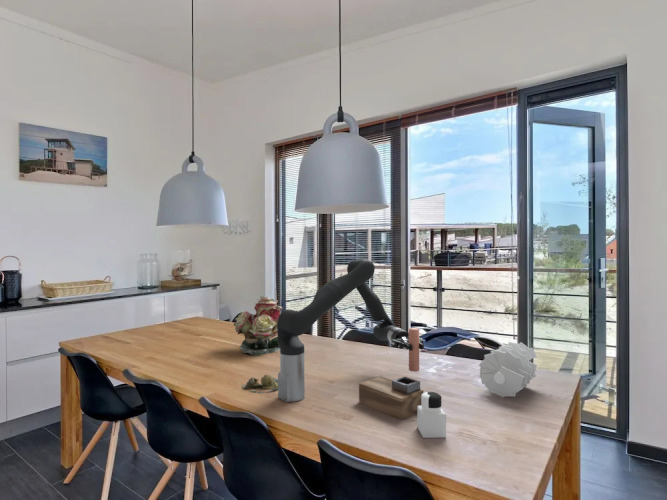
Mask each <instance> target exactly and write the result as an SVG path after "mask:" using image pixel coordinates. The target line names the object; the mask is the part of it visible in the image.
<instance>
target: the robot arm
mask: <svg viewBox="0 0 667 500" xmlns="http://www.w3.org/2000/svg"><path fill="white" fill-rule="evenodd" d="M375 270H376V267H375V264H374V263H373V261H371V260H370V259H365V258H364V259H354V260H351V261H349V263H348V264H347V267H346V272H347V273H346V274H344V275H341V276H339V277H336V278H334V279H331V280H330V281H327V282H326V283H325V284H324V285H323V286H321V287H320V288H319V289H317V291H316V293H315V294H314V298H312V299H313V300H312V301H311V302H310V303H309V304H308V305H306V307H303V308H301V309H300V310H295V309H283V311H282V310H281V311H280V315H279V317H278V322H277V333H278V335H277V336H278V345H279V347H280V351H279V352H280V353H279V354H280V355H279V359H280V360H279V361H280V362H279V366H280V367H279V372H278V374H277V379H278V389H277V397H278V399H280V400H282V401H284V402H285V403H290V402H299V401H302V400H303V399H305V392H306V391H305V389H306V388H305V381H306V380H305V345H304V343H303V342H302V341H301V340H300V337H299V336H302V335H304V334H305V333H306V332H307V331H308V330H309V329H310V328H311V327H312V326H313V325H314V324H315V323H316V322H317V321H318V320H319V319H320V318H321V317H322V316H324V315H325V314H326V313H327V312H329V310H331V309H332V308H333V307H335V306H336V305H337V304H339V303H340V302H341V301H342V300H343V299H344V298H346V297H347V296H348V295H349V294H351V293H352V291H354V290H355V289H356V290H357V291H358V293H359V295H360V296H361V299H362V300H363V302H364V305H365V306H366V308H367V310H368V313H369V316H370V317H371V319H372V321H373V322H380V323H378V324H376V325H375V326H374V327H373V329H372V330H373V331H372V332H373V335H374V337H375V338H376V339H377V340H378V341H383V342H389V343H391V344H390V345H391V347H394V348H397V349H400V350H401V349H402V350H404V349H405V350H406V349H407V350H408V351H409V350H410V351H412V350H413V346H412V344H410V343H409V331H406V330H404V329H403V328H400V327H398V326H396V324H395V323H394V322H393V320H392V319H391V318H390V316H389V315H388V314H387V312H386V310H385V308H384V305H383V302H382V301H381V299H380V297H379V296H378V295H377V294H376V293H375V292H374V291H373V290H372V288H371V287H370V286H369V285H368V283H367V281H369V280H370V279H371V278H372V277H373V276H374V274H375ZM424 348H425V344H424V339H423V337H420V336H419V350H421V351H422V350H425V349H424Z"/></svg>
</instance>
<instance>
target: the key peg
mask: <svg viewBox="0 0 667 500" xmlns="http://www.w3.org/2000/svg"><path fill="white" fill-rule="evenodd" d="M408 333H409V343H410V344H412V346H413V350H412V351H410V350H408V371H410V372H414V373H415V372H419V371H420V349H419V338H420V329H419V328H418V327H411V328H410V327H409V328H408Z"/></svg>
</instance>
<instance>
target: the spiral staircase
mask: <svg viewBox="0 0 667 500" xmlns="http://www.w3.org/2000/svg"><path fill="white" fill-rule="evenodd" d="M534 358H538V356H537V355H536V352H535V350H534V348H533V347H528V346H527V344H524V343H523V342H522V341H520V342H519V343H517V342H511V341H508V343H507V344H505V345H503V344H502V346H498V349H494V350H490V353H487V354H484V355H483V360H481V362H480V363H479V365H478V366H479V367H480V370H479V378H480V381H481V384H482V385H484V386H485V387H486V389H487V390H488V391H489V392H490V394H495V395H497V396H499V397H501V398H503V399H505V397H516V394H517V393H520V391H522V390H523V389H524V388H527V387H528V384H530V383H531V381H532V380H533V379H534V378H536V377H537V374H536V373H535V372H536V368H537V366H538V364H536V363H534V362H531V361H530V360H533V359H534Z"/></svg>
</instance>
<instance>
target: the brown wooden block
mask: <svg viewBox="0 0 667 500" xmlns="http://www.w3.org/2000/svg"><path fill="white" fill-rule="evenodd" d="M423 393H424V389H421V381H420V380H416V379H414V378H410V377H407V376H402V377H399V378H396V379H390V378H387V377H384V376H378V377H375V378H372V379H369V380H365V381H361V382H360V383H358V395H359V396H358V401H359V402H358V403H361V404H363V405H365V406H367V407H369V408H372V409H375V410H377V411H378V412H379V411H380V412H381V413H384V414H386V415H388V416H391V417H393V418H395V419H398V420H400V421H402V420H404V419H406V418H409V417H411V416H414V415H416V414H417V406H421V395H422V394H423ZM413 414H414V415H413Z"/></svg>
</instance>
